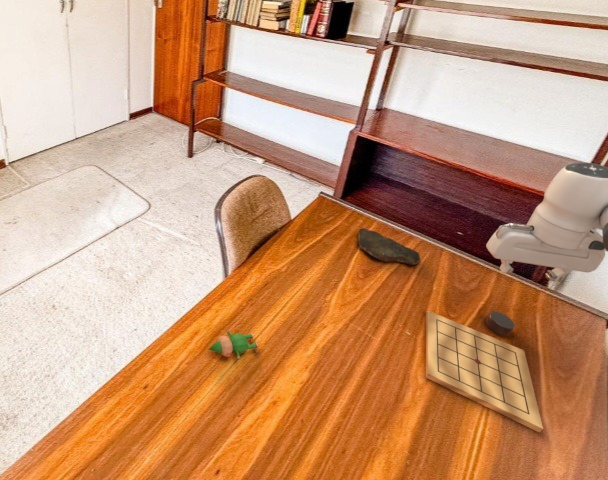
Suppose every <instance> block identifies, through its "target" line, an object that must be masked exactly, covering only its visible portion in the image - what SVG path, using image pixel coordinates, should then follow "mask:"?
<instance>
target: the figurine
mask: <svg viewBox="0 0 608 480" xmlns="http://www.w3.org/2000/svg"><path fill="white" fill-rule="evenodd" d="M225 332H226V334H227V335H228V336H227V335H221V336H218V338H217V340H216V342H214V343H213V344H212V345H211V346H209V348H208V350H209V351H212V352H213V353H217V354H219V355H222V356H223V357H227V358H229V357H231V355H233V352H234V353H235V354H236V358H237V360H239V359H240V355H242V354H245V352H246V351H247V350H252V349H254V351H255V353H257V352H258V349H259V344H258V342H255V343H253V340H254V334H253V332H251V333H249V334H248V333H247V334H243V333H233V334H232V333H231V332H230V331H229V330H228V329H227V330H226V331H225ZM248 339H249V340H250V343H251V344H249V341H248Z"/></svg>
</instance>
